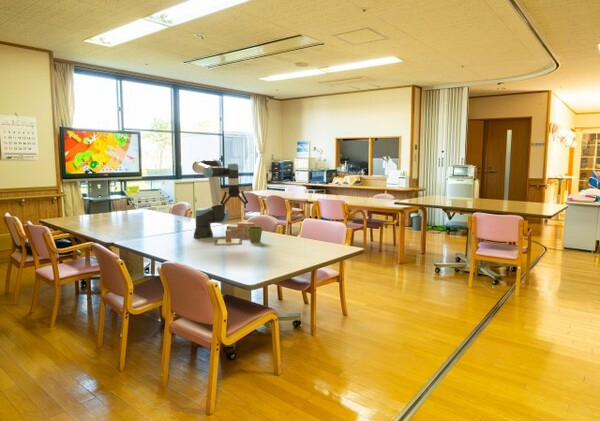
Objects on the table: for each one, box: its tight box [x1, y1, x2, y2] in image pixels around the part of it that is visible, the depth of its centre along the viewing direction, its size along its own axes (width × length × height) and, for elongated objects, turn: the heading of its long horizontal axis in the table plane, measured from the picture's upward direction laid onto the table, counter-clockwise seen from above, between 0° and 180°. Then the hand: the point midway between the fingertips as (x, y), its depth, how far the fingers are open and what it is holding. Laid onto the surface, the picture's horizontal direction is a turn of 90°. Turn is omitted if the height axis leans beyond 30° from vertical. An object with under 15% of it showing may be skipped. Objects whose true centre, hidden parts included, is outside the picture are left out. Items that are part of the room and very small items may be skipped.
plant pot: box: [248, 226, 264, 244], centre depth 307 cm, size 12×12×11 cm
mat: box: [213, 238, 243, 247], centre depth 305 cm, size 20×20×1 cm
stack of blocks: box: [226, 221, 256, 239], centre depth 326 cm, size 21×6×12 cm, turn 83°
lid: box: [217, 229, 241, 246], centre depth 305 cm, size 16×16×9 cm
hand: (234, 213), depth 303 cm, fingers open, 13 cm apart
